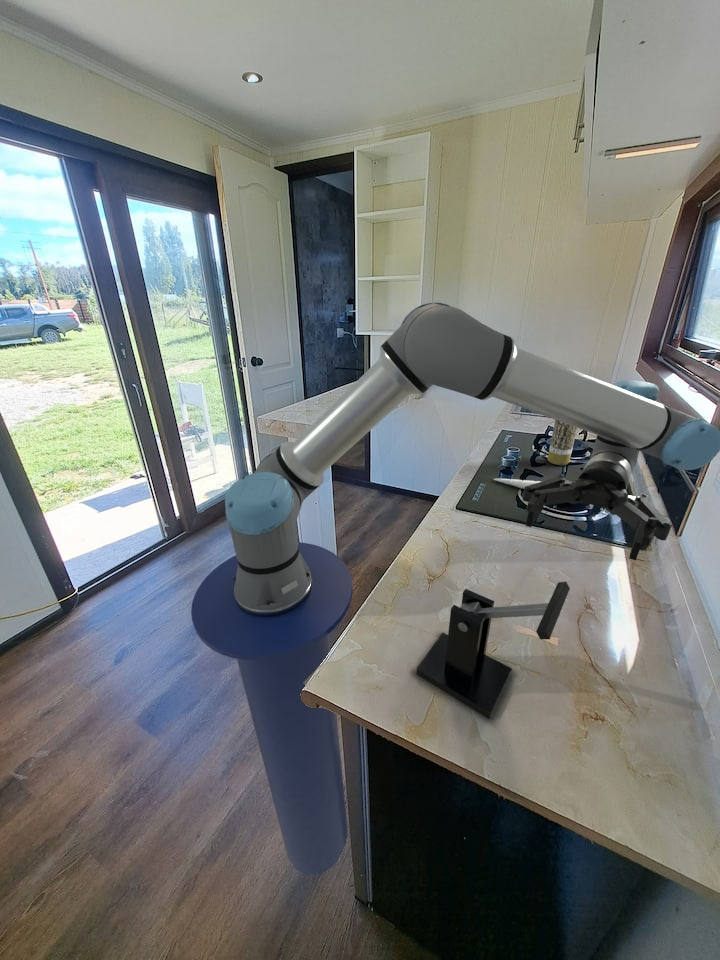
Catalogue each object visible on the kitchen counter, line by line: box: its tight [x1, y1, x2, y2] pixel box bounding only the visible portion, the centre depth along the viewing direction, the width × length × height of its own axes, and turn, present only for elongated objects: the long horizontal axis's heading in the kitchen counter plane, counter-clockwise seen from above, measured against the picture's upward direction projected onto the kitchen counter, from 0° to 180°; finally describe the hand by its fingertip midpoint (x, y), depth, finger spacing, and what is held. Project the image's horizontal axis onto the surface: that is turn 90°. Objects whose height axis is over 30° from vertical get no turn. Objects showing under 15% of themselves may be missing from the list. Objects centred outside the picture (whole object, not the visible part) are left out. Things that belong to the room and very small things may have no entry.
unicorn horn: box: [493, 478, 541, 490], centre depth 113 cm, size 5×24×5 cm, turn 50°
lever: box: [459, 581, 571, 640], centre depth 51 cm, size 14×10×2 cm
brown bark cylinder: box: [547, 419, 578, 466], centre depth 125 cm, size 7×7×25 cm
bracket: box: [415, 588, 513, 720], centre depth 58 cm, size 12×9×15 cm
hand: (578, 534), depth 55 cm, fingers open, 13 cm apart
